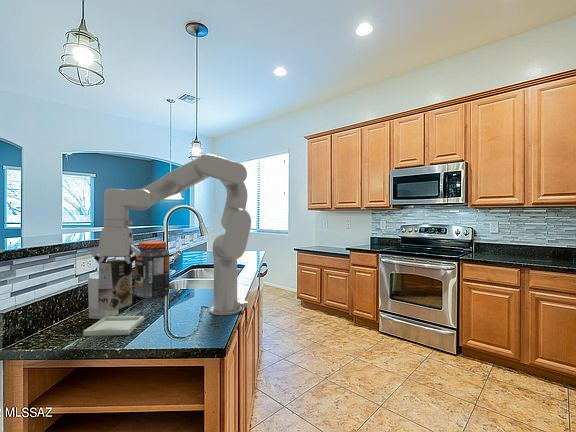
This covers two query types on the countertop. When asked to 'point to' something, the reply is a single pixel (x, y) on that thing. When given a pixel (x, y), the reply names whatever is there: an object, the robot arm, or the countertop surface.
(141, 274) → the supplement tub
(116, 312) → the skincare box
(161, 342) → the countertop surface
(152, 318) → the countertop surface
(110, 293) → the coffee box
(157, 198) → the robot arm
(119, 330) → the tray
